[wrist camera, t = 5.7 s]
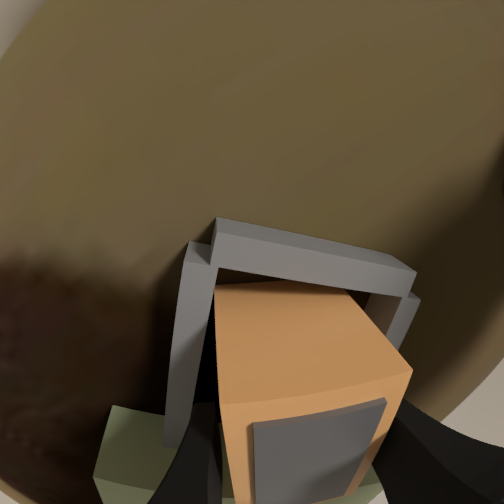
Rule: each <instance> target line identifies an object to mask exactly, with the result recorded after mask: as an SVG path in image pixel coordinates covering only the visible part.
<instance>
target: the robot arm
mask: <svg viewBox="0 0 504 504" xmlns="http://www.w3.org/2000/svg"><path fill="white" fill-rule="evenodd" d="M371 465H372V467H373V469H374V471H375V473H376V475H377V476H378V478H379V480H380V483H381V485H382V487H383V489H384V492H385V495H386V498H387V501H388V504H504V448H503V447H499V446H495V445H491V444H487V443H484V442H481V441H479V440H476V439H473V438H470V437H468V436H466V435H463V434H461V433H459V432H457V431H455V430H453V429H451V428H449V427H447V426H445V425H443V424H441V423H440V422H438V421H436V420H435V419H433V418H431V417H430V416H428V415H427V414H425V413H424V412H422V411H421V410H419V409H418V408H416V407H415V406H413V405H412V404H410V403H409V402H408V401H406V400H405V399H404V398H402V400H401V403H400V405H399V408H398V410H397V412H396V415H395V417H394V419H393V421H392V423H391V426H390V428H389V430H388V432H387V434H386V436H385V438H384V440H383V442H382V444H381V446H380V448H379V450H378V452H377V454H376V456H375V458H374V460H373V462H372V463H371ZM222 480H223V458H222V447H221V436H220V431H219V425H218V420H217V414H216V408H215V402H203V403H195V404H194V405H193V409H192V413H191V417H190V420H189V423H188V426H187V429H186V431H185V434H184V437H183V439H182V441H181V444H180V446H179V448H178V450H177V453H176V455H175V457H174V459H173V461H172V463H171V465H170V467H169V469H168V471H167V472H166V474H165V476H164V478H163V480H162V481H161V483H160V485H159V486H158V488H157V489H156V491H155V492H154V494H153V496H152V497H151V498H150V500H149V501H148V503H147V504H222Z"/></svg>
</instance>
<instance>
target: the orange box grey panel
mask: <svg viewBox="0 0 504 504" xmlns="http://www.w3.org/2000/svg"><path fill="white" fill-rule="evenodd" d="M214 302H215V329H216V351H217V370H218V387H219V402H220V411H221V418H222V425H223V431H224V438H225V444H226V451H227V457H228V463H229V469H230V474H231V480H232V486H233V491H234V497H235V502H236V504H317V503H322V502H326V501H330V500H334V499H338V498H341V497H345V496H348V495H352V494H354V493H355V491H356V489H357V488H358V486H359V484H360V483H361V481H362V479H363V478H364V476H365V474H366V472H367V471H368V469H369V467H370V465H371V463H372V462H373V460H374V458H375V456H376V454H377V452H378V450H379V448H380V446H381V444H382V442H383V440H384V438H385V436H386V434H387V432H388V430H389V428H390V426H391V423H392V421H393V419H394V417H395V415H396V412H397V410H398V408H399V405H400V403H401V400H402V398H403V396H404V393H405V391H406V388H407V385H408V383H409V380H410V378H411V375H412V372H413V369H412V368H411V367H410V365H409V364H408V363H407V362H406V361H405V359H404V358H403V357H402V356H401V355H400V353H399V352H398V351H397V350H396V349H395V347H394V346H393V345H392V344H391V343H390V342H389V340H388V339H387V338H386V337H385V336H384V335H383V333H382V332H381V331H380V330H379V329H378V328H377V326H376V325H375V324H374V323H373V322H372V321H371V319H370V318H369V317H368V316H367V315H366V314H365V313H364V311H363V310H362V309H361V308H360V307H359V306H358V305H357V303H356V302H355V301H354V300H353V299H352V298H351V297H350V296H349V294H348V293H347V292H346V291H345V290H344V289H343V288H339V287H332V286H326V285H320V284H314V283H308V282H301V281H295V280H282V281H269V282H255V283H239V284H223V285H215V287H214Z"/></svg>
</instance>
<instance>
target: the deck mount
mask: <svg viewBox="0 0 504 504" xmlns="http://www.w3.org/2000/svg"><path fill="white" fill-rule="evenodd" d="M219 267H220V268H226V269H231V270H237V271H243V272H249V273H254V274H260V275H266V276H272V277H278V278H283V279H289V280H295V281H301V282H308V283H314V284H320V285H326V286H332V287H339V288H345V289H351V290H358V291H364V292H371V294H370V297H369V299H368V302H367V305H366V307H365V310H364V313H365V314H366V315H367V316H368V317H369V318H370V319H371V321H372V322H373V323H374V324H375V325H376V326H377V328H378V329H379V330H380V331H381V332H382V333H383V335H384V336H385V337H386V338H387V339H388V340H389V342H390V343H391V344H392V345H393V346H394V347H395V349H396V350H397V351H398V349H399V347H400V345H401V343H402V341H403V339H404V337H405V335H406V333H407V331H408V329H409V326H410V324H411V322H412V320H413V318H414V315H415V313H416V311H417V309H418V306H419V304H420V302H421V299H419V298H418V297H417V296H416V295H414V294H413V293H412V292H411V291H410V290H411V287H412V285H413V282H414V280H415V277H416V274H417V272H416V271H414V270H413V269H411V268H410V267H408V266H407V265H405V264H404V263H402V262H401V261H399V260H398V259H396V258H395V257H393V256H392V255H390V254H386V253H382V252H378V251H373V250H369V249H365V248H360V247H356V246H351V245H347V244H343V243H338V242H334V241H329V240H325V239H320V238H316V237H311V236H306V235H302V234H297V233H292V232H288V231H283V230H278V229H273V228H269V227H264V226H259V225H254V224H249V223H244V222H239V221H234V220H229V219H224V218H219V217H216V222H215V226H214V231H213V236H212V241H211V245H208V244H203V243H197V242H192V241H189V244H188V248H187V251H186V255H185V258H184V263H183V269H182V275H181V282H180V288H179V295H178V302H177V309H176V316H175V324H174V332H173V340H172V348H171V357H170V366H169V376H168V386H167V397H166V409H165V416H164V415H158V414H152V413H147V412H142V411H137V410H133V409H128V408H124V407H119V406H115V405H113V406H112V409H111V412H110V416H109V419H108V422H107V426H106V429H105V433H104V436H103V440H102V443H101V447H100V451H99V455H98V458H97V462H96V466H95V470H94V474H93V478H94V481H95V484H96V486H97V489H98V491H99V494H100V496H101V499H102V501H103V503H104V504H147V503H148V501H149V500H150V498H151V497H152V496H153V494H154V492H155V491H156V489H157V488H158V486H159V485H160V483H161V481H162V480H163V478H164V476H165V474H166V472H167V471H168V469H169V467H170V465H171V463H172V461H173V459H174V457H175V455H176V453H177V450H178V448H179V446H180V444H181V441H182V439H183V437H184V434H185V431H186V429H187V426H188V423H189V420H190V416H191V410H192V404H193V399H194V393H195V387H196V382H197V376H198V370H199V365H200V359H201V354H202V349H203V343H204V338H205V333H206V328H207V322H208V317H209V312H210V307H211V302H212V297H213V292H214V287H215V282H216V277H217V273H218V268H219ZM218 425H219V431H220V436H221V447H222V458H223V480H222V504H236V502H235V497H234V491H233V486H232V480H231V474H230V469H229V463H228V457H227V451H226V444H225V438H224V431H223V425H222V423H218ZM382 490H383V487H382V485H381V483H380V480H379V478H378V476H377V475H376V473H375V471H374V469H373V467H372V465H370V467H369V469H368V471H367V472H366V474H365V476H364V478H363V479H362V481H361V483H360V484H359V486H358V488H357V489H356V491H355V493H354V494H352V495H348V496H345V497H341V498H338V499H334V500H330V501H326V502H322V503H317V504H368V503H369V502H370V501H371V500H372V499H373V498H375V497H376V496H377V495H378V494H379V493H380V492H381V491H382Z"/></svg>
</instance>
